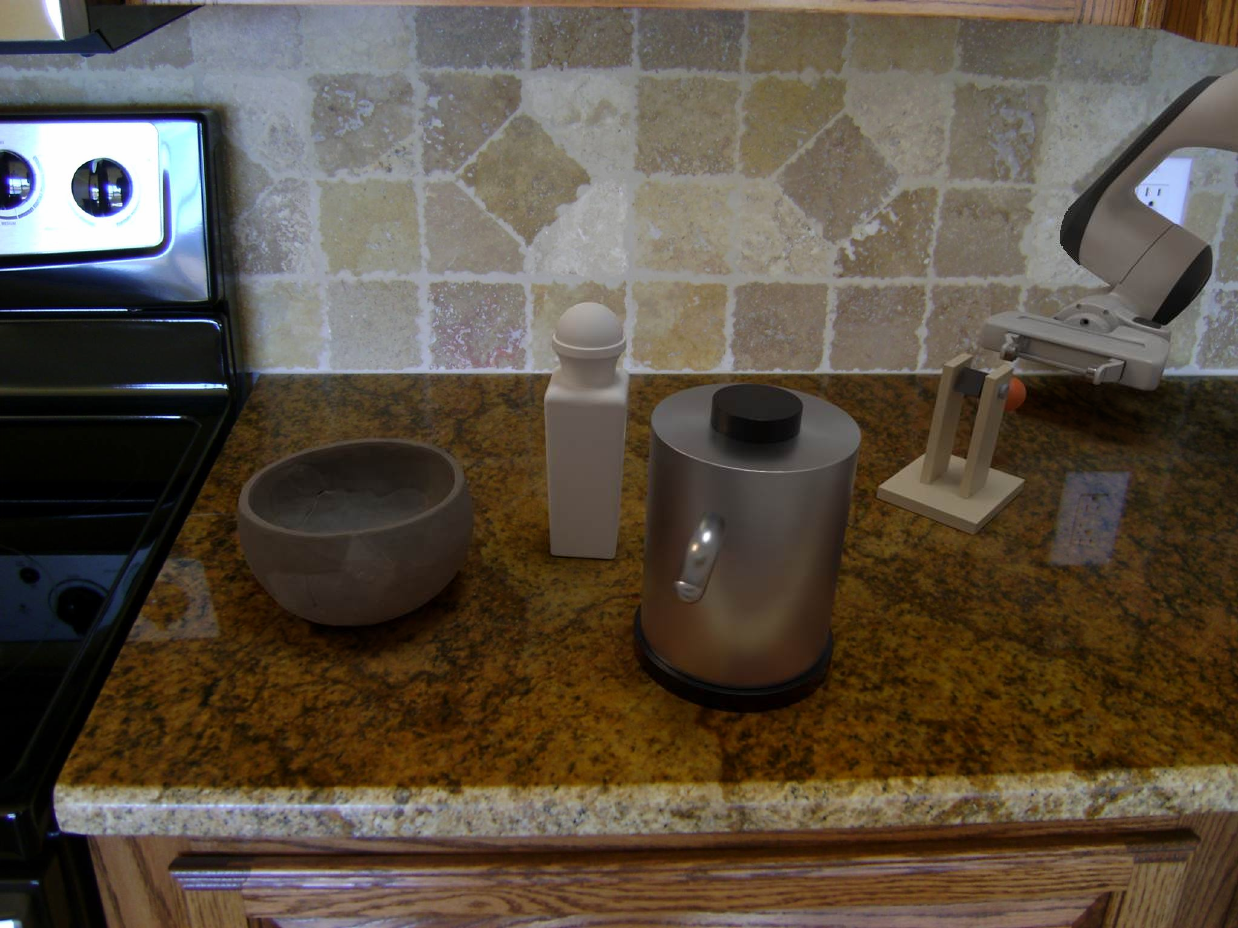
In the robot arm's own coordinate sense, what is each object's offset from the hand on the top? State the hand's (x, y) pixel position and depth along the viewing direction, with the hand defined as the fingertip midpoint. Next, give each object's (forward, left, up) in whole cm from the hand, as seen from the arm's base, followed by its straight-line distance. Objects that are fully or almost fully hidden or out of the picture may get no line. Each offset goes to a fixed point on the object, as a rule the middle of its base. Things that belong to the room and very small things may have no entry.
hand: (1048, 365), depth 104 cm
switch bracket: (-6, +21, -8) cm, 23 cm away
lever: (-4, +17, 0) cm, 17 cm away
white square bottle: (+5, +57, -8) cm, 58 cm away
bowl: (+8, +76, -8) cm, 77 cm away
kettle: (-13, +55, -8) cm, 57 cm away
